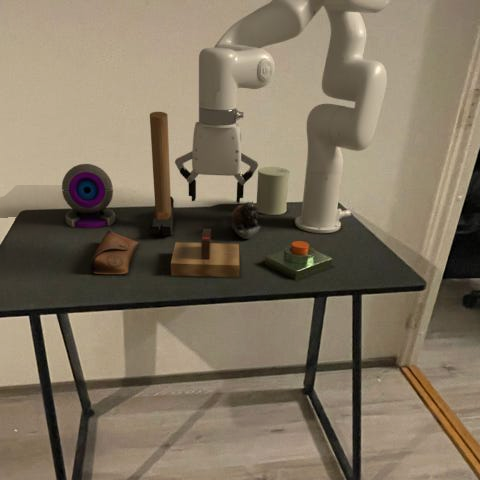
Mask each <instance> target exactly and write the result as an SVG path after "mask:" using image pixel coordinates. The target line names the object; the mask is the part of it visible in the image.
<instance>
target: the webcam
mask: <svg viewBox="0 0 480 480" xmlns="http://www.w3.org/2000/svg"><path fill="white" fill-rule="evenodd" d="M61 190H62V197H63V199H64V201H65V202H66V204H67V205H68V206H69V207H70V208H71V210H69V211H68V212H67V213H66V214H65V223H66V225H68V226H69V227H72V228H73V227H79V228H86V229H87V228H89V229H90V228H98V227H99V228H100V227H103V226H110V225H112V224H114V223H115V222H116V214H115V211H113V209H111V208H108V206H109V205H110V203H111V202H112V199H113V195H114V194H113V193H114V186H113V182H112V180H111V178H110V176H109V175H108V174H107V172H106V171H105V170H104V169H103V168H101V167H100V166H97V165H95V164H92V163H81V164H76V165H75V166H73V167H71V168H70V169H69V170H68V171H67V172H66V173H65V175H64V177H63V178H62V182H61Z"/></svg>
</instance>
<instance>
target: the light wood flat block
mask: <svg viewBox="0 0 480 480" xmlns="http://www.w3.org/2000/svg"><path fill="white" fill-rule="evenodd" d="M170 275H171V276H172V277H173V276H176V277H177V276H178V277H206V278H207V277H209V278H212V277H215V278H217V277H220V278H221V277H222V278H239V277H240V244H239V243H217V242H216V243H214V242H211V249H210V259H202V242H187V241H186V242H184V241H183V242H181V241H180V242H179V241H178V242H177V241H176V242H175V243H174V247H173V252H172V256H171V261H170Z"/></svg>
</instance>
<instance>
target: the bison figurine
mask: <svg viewBox="0 0 480 480" xmlns="http://www.w3.org/2000/svg"><path fill="white" fill-rule="evenodd" d="M257 209H258V207H256V203H254V201H247V202H245V203H243V205H238V206H236V207H235V208H234V209H233V212H232V230H233V231H234V232H235V233H236V235H238V236H239V237H240V238H242V239H243V240H244V239H245V240H247V239H252V238H253V237H254V236H255V235H256V234H257V233H259V231H260V229H261V226H260V225H259V224H258V220H257V219H259V216H258V214H259V212H258V210H257Z"/></svg>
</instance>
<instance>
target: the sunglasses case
mask: <svg viewBox="0 0 480 480" xmlns="http://www.w3.org/2000/svg"><path fill="white" fill-rule="evenodd" d="M139 244H140V242H139V241H137V240H133V239H131V238H128V237H125V236H123V235H120V234H119V233H115V232H113V230H111V229H109V230H107V231H106V233H105V235H104V236H103V238H102V239H101V241H100V243H99V245H98V247H97V249H96V250H95V252H94V255H93V257H92V258H91V261H90V265H89V268H90V270H91V272H92V273H93V274H95V275H105V276H118V275H119V276H121V275H127V274H129V269H130V263H131V260H132V258H133V256H134V254H135V251H136V249H137V248H138V246H139Z"/></svg>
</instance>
